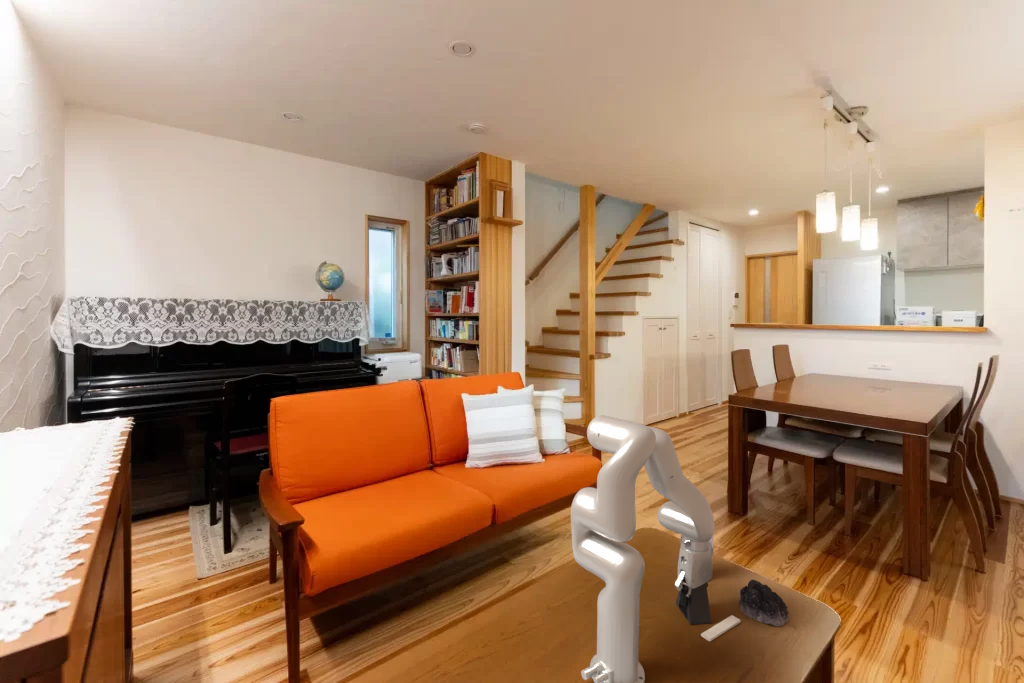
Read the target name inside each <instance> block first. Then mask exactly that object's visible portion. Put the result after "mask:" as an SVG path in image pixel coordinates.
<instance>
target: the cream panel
mask: <svg viewBox="0 0 1024 683" xmlns="http://www.w3.org/2000/svg"><path fill="white" fill-rule="evenodd" d="M740 623H741V619H740V618H738V617H736V616H734V614H731V615H730V616H728V617H726V618H725V619H723V620H721V621H720V622H717V623H716V624H714V625H713V626H711V627H710V628H708V629H707V630H705V631H703V632H701V633H700V636H701V637H702V638H704V639H705V640H706V641H708V642H712V641H714V640H715V639H716V638H718V637H719V636H721V635H722V634H724V633H726V632H727V631H729V630H731V629H732V628H734V627H735V626H737V625H739V624H740Z"/></svg>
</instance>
